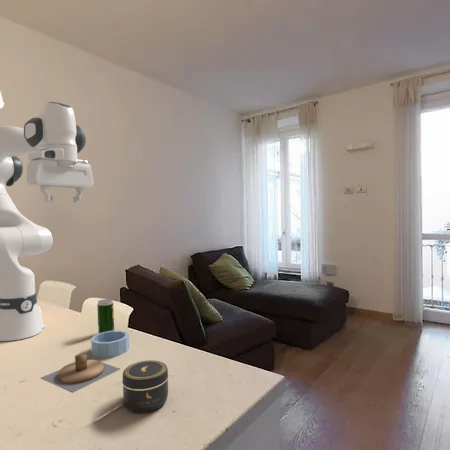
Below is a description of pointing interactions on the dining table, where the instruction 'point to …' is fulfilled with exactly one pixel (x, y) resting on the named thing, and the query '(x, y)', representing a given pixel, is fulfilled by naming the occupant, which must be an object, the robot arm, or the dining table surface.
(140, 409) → the jar
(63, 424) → the dining table surface
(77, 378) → the lid
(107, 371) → the mat
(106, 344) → the bowl
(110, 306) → the beer can
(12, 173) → the robot arm
